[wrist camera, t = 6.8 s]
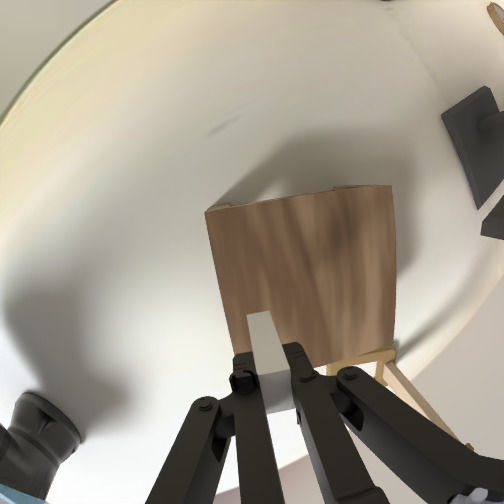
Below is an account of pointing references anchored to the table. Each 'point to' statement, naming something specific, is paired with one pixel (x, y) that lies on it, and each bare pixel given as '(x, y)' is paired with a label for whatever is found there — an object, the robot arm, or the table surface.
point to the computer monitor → (480, 151)
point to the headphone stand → (394, 382)
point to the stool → (310, 269)
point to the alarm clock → (496, 15)
